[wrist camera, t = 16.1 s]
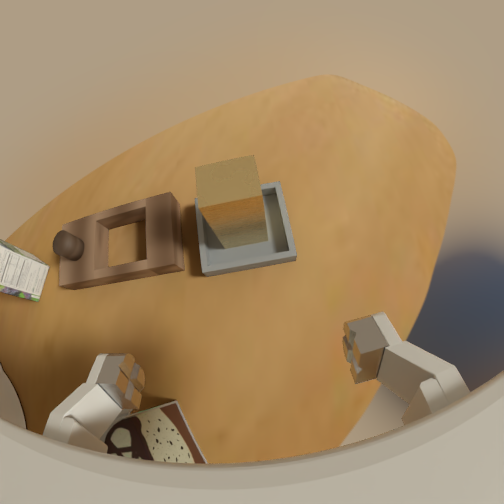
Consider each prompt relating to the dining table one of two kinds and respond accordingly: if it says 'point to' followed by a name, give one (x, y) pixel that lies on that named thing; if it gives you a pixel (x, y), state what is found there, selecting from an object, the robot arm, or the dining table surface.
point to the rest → (251, 255)
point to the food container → (153, 436)
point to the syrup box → (21, 272)
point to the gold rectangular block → (232, 201)
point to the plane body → (96, 244)
